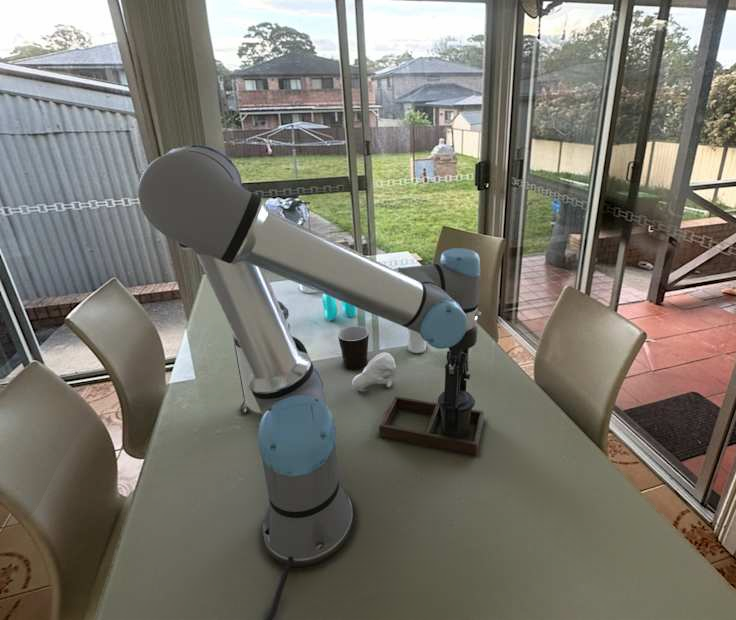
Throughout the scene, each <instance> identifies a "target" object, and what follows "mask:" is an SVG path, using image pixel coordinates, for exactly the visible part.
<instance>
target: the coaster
mask: <svg viewBox="0 0 736 620" xmlns="http://www.w3.org/2000/svg"><path fill="white" fill-rule="evenodd" d="M299 290H300V291H301V292H303V293H306V294H313V293H314V294H315V293H319V292H318V291H316V290H313V289H311V288H308V287H306V286H304V285H301V284H299Z"/></svg>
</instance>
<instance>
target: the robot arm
mask: <svg viewBox="0 0 736 620" xmlns="http://www.w3.org/2000/svg"><path fill="white" fill-rule="evenodd" d="M137 187H138V188H137V189H138V191H137V194H138V195H137V197H138V201H139V206H140V209H141V211H142V213H143V214H144V216H145V218H146V219H147V221H148V222H149V223H150V224H151V225H152V226H153V227H154V229H156V230H158V231H159V232H160V233H161V234H163V235H164V236H166V237H167V238H168V239H170V240H172V241H174V242H176V243H178V245H179V247H180V249H182V250H185V251H187V252H190V253H192V254H195V256H196V258H197V259H198V262H199V263H200V266H201V268H202V270H203V272H204V274H205V276H206V278H207V280H208V283H209V285H210V286H211V289H212V291H213V293H214V296H215V298H216V299H217V301H218V303H219V305H220V307H221V309H222V312H223V314H224V315H225V317H226V320H227V322H228V324H229V326H230V328H231V330H232V333H233V332H234V335H235V337H236V339H237V341H238V343H239V345H240V347H241V349H242V351H243V353H244V355H245V357H246V360H247V362H248V364H249V366H250V368H251V370H252V374H251V376H250V378H249V382H248V384H249V387H250V389H251V391H252V393H253V395H254V397H255V399H256V401H257V404H258V406H259V408H260V410H261V413H260V414H261V420H260V422H259V426H258V433H257V445H258V450H259V453H260V457H261V459H262V465H263V471H264V478H265V484H266V489H267V496H268V503H267V507H266V511H265V515H264V519H263V523H262V535H263V541H264V546H265V548H266V551H267V552H268V554H269V555H270V556H271V558H273V559H274V560H275V561H277V562H278V563H280V564H282V565H284V568H283V571H282V573H281V574H282V575H281V577H280V580H279V582H278V585H277V587H276V590H275V593H274V597H273V600H272V604H271V607H270V609H269V612H268V614H267V615H266V617H265V618H264V620H273V619H274V616H275V615H276V612H277V610H278V607H279V604H280V600H281V597H282V593H283V590H284V587H285V584H286V581H287V579H288V576H289V574H290V570H291V568H292V567H295V568H298V567H299V568H302V567H310V566H313V565H317V564H319V563H322V562H324V561H325V560H327V559H329V558H331V557H332V556H333V555H336V553H337V552H338V551H339V550H340V549H341V548H342V547H343V546H344V545H345V544H346V541H347V540H348V539H349V537H350V534H351V533H352V528H353V523H354V515H353V505H352V502H351V500H350V498H349V496H348V495H347V493H346V491H345V490H344V489H343V487H342V485H341V483H340V476H339V465H338V455H337V443H336V439H337V438H336V437H337V436H336V435H337V428H336V424H335V423H336V422H335V420H334V417H333V414H332V412H331V410H330V408H329V407H328V404H327V403H328V402H327V399H326V395H325V390H324V388H325V387H324V383H323V379H322V377H321V375H320V373H319V371H318V370H317V368H316V367H315V366H314V364H313V362H312V358H311V357H310V356H309V354H308V355H307V354H306V353H304V352H300V351H298V350H297V347H296V345H295V342H294V340H293V337H294V336H293V334H292V332H291V329H290V330H289V328H288V325H287V323H286V321H285V318H284V316H283V313H282V311H281V308H280V306H279V304H278V301H279V300H278V299H277V296H276V294H275V292H274V290H273V287H272V284H271V283H270V280H269V277H268V275H267V272H269V273H272V274H274V275H277V276H279V277H282V278H284V279H286V280H289V281H292V282H294V283H296V284H299V285H300V284H301V285H304V286H306V287H308V288H311V289H313V290H316V291H318V292H317V293H321V294H322V295H323V294H326V295H328V296H330V297H333V298H335V300H337V301H340V302H342V301H343V302H345V303H348V304H350V305H352V306H355V307H356V309H360V310H362V311H364V312H367V313H369V314H373V315H375V316H377V317H378V318H379V317H380V318H382V319H384V320H386V321H389V322H392V323H394V324H395V325H399V326H401V327H404V328H406V329H407V328H408V329H410V330H413V331H415V332H418V333H419V334H420V335H421V337H422V338H423V339H424V340H425V341H426V343H427V344H428V345H429V346H431V347H432V348H435V349H442V350H443V349H444V350H445V349H448V350H447V352H446V356H445V357H446V363H445V365H444V371H445V373H444V374H445V375H444V390H443V392H444V402H442V405H443V408H444V409H446V414H445V429H446V430H452V431H457V432H458V425H459V404H458V399H459V389H461V390H464V391H467V380H470V379H471V374H470V373H468V372H469V350H470V349H471V348H473V347H474V346H475V345H476V343H477V339H478V326H477V325H478V317H481V316H482V313H481V311H478V310H479V298H480V281H481V258H480V255H479V254H478V253H477V252H475V251H474V250H473V249H469V248H462V247H461V248H459V247H455V248H449V249H447V250H444V251H443V252H442V253H441V255H440V259H439V262H438V263H433V264H432V263H431V264H424V265H422V264H421V265H415V266H406V267H405V266H404V267H400V266H399V267H396V268H392V267H390V266H388V265H385V264H383V263H382V262H379V261H377V260H375V259H373V258H371V257H369V256H366V255H365V254H362V253H360V252H359V251H357V250H355V249H353V248H350V247H348V246H346V245H343V244H342V243H340V242H337V241H335V240H333V239H331V238H329V237H327V236H326V235H323V234H321V233H319V232H317V231H314V230H312V229H310V228H308V227H307V226H304V225H302V224H300V223H297V222H295V221H293V220H292V219H289V218H287V217H285V216H283V215H281V214H278V213H277V212H275V211H272V210H271V209H269V208H268V207H267V206H268V205H267V204H266V201H265V199H264V198H263V197H261V196H259V195H258V194H255V193H253V192H251V191H249V190H247V189H245V188H244V187H243V183H242V176H241V174H240V172H239V170H238V168H237V166H236V165H235V164H234V162H233V161H232V160H231V159H230V158H228V156H227V155H225V154H224V153H223V152H221V151H219V150H218V149H215V148H213V147H210V146H207V145H201V144H189V145H180V146H178V147H177V148H173V149H170V150H169V151H168V152H167V153H165V154H163V155H161V156H159V157H157V158H155V159H154V160H153V161H151V163H149V164H148V165H147V167H146V168H145V169H144V171H143V173H142V174H141V176H140V180H139V182H138V186H137ZM266 271H267V272H266Z"/></svg>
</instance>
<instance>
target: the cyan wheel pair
mask: <svg viewBox="0 0 736 620" xmlns="http://www.w3.org/2000/svg"><path fill="white" fill-rule="evenodd" d="M336 300H337V299H335V298H333V297H330V296H328V295H326V294H323V293H322V308H323V312H324V316H325V318H326V319H327V320H328V321H333V320H335V319H336V317H337V314H338V306H337V301H336ZM341 306H342V307H341V308H342V310H343V312H344V314H345V316H347V317H349V318H352V317H354V316H355V315H356V314H357V313H356V312H357V307H355V306H352V305H350V304H348V303H345V302H343V301H341Z"/></svg>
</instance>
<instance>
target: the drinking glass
mask: <svg viewBox="0 0 736 620" xmlns="http://www.w3.org/2000/svg"><path fill="white" fill-rule="evenodd" d="M406 334H407V347H408V350H409V352H411V353H413V354H422V353H424V352H425V351H426V349H427V342H426V341H425V340H424V339H423V338H422V337H421V335H420V334H419V333H418V332H415V331H413V330H410V329H408V328H406Z"/></svg>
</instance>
